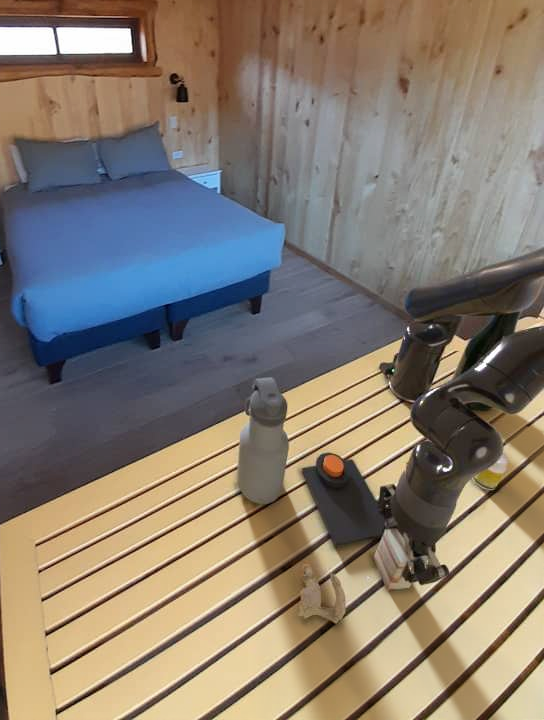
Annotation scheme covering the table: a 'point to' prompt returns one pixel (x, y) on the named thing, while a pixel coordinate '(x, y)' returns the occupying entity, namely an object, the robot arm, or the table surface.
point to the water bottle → (263, 444)
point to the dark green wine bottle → (486, 347)
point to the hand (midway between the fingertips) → (398, 557)
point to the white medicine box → (392, 560)
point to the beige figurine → (313, 598)
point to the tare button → (333, 466)
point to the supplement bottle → (492, 474)
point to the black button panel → (344, 503)
